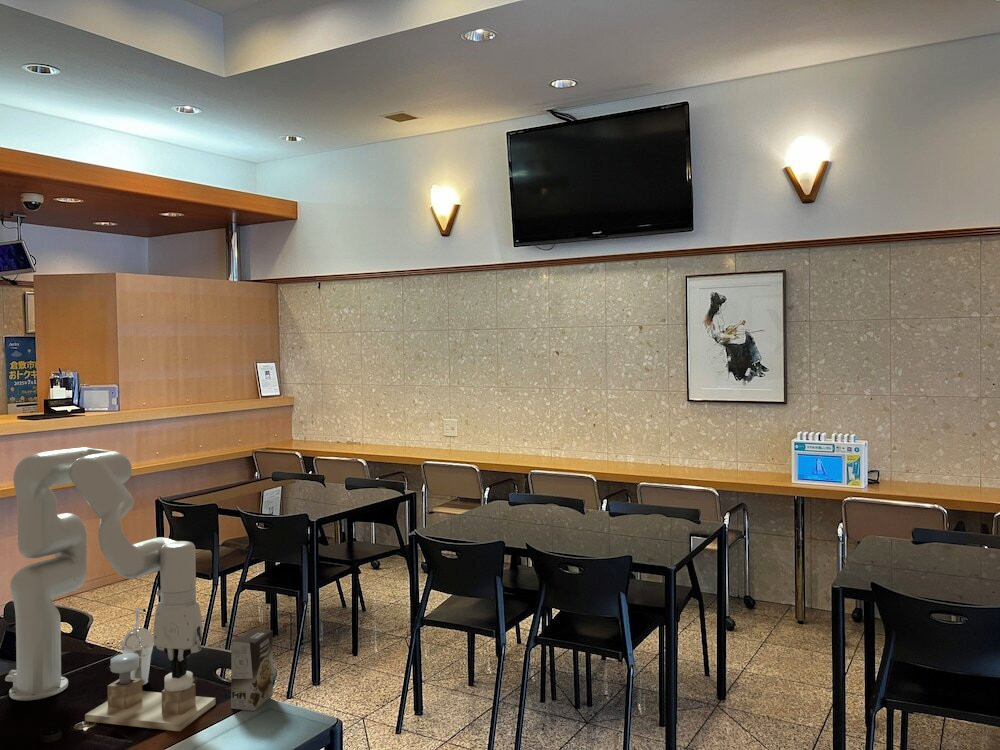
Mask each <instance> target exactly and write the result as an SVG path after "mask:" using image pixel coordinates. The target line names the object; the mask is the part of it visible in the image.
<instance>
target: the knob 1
mask: <svg viewBox="0 0 1000 750" xmlns="http://www.w3.org/2000/svg"><path fill="white" fill-rule="evenodd" d="M138 667H139V655H138V654H135V653H126V654H123V653H121V654H117V655H115V656H113V657H111V658H110V672H112V673H114V674H118V675H119V678H118V679H119V685H128V684H130V683H131V671H133V670H136V669H137V668H138Z"/></svg>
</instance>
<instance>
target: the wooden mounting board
mask: <svg viewBox="0 0 1000 750" xmlns="http://www.w3.org/2000/svg"><path fill="white" fill-rule="evenodd" d="M215 705H216V697H209V696H197V695H196V683H193V685H192V686H191V687H190V688H188V689H185V690H182V691H174V692H173V691H167V690H165V688H163V689H162V690H161V692H159V691H158V692H157V691H146V690H143V685H142V679H140V678H131V683H130V684H128V685H119V678H118V679H117V680H115V681H113V682H111V683H110V684H108V685H107V700H106V701H105V702H103V703H102V704H100V705H98V706H97V707H95V708H93V709H91V710H90V711H88V712H87V713H85V714H84V721H85V722H92V723H99V724H100V723H101V724H109V725H119V726H128V727H134V728H135V727H138V728H145V729H146V728H147V729H155V730H163V731H173V732H181V731H182V730H184V729H185V728H186V727H188V726H189V725H190V724H192V723H193V722H195V720H197V719H198V718H199V717H201V716H202V715H203V714H205V713H206V712H208V711H209V710H210V709H211V708H213V707H214V706H215Z"/></svg>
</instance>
